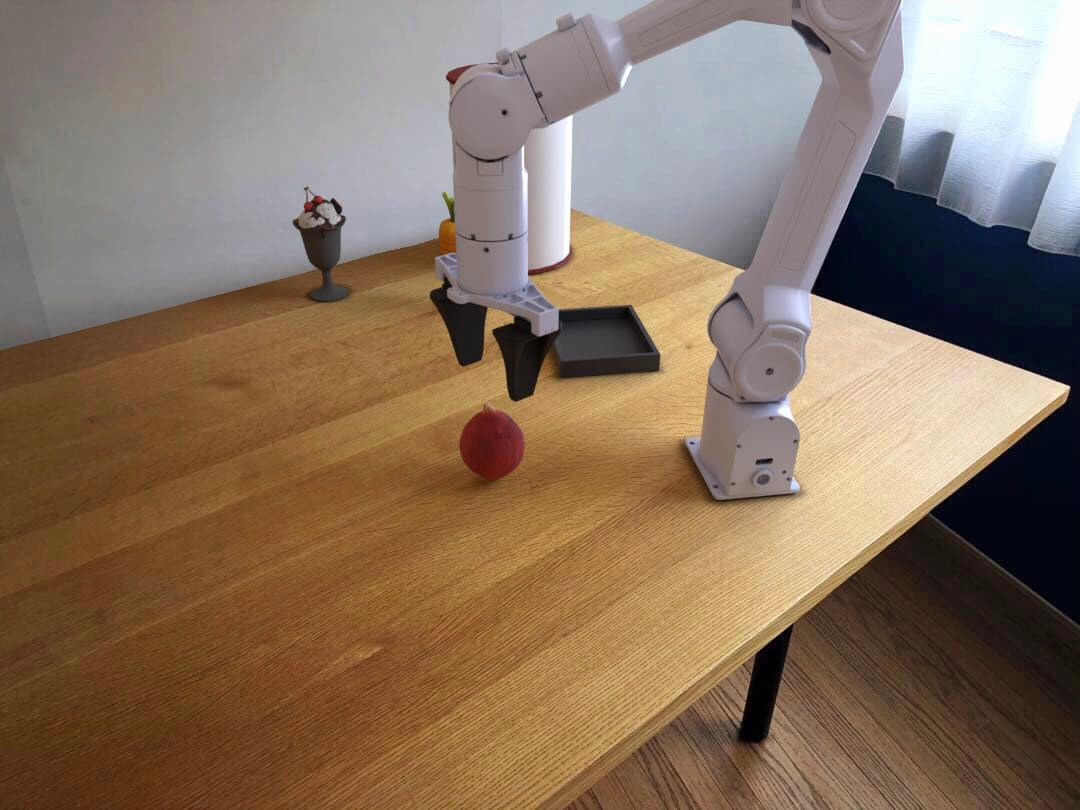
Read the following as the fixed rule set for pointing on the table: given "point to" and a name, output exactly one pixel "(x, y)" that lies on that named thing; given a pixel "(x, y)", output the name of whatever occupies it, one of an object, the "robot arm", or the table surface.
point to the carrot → (448, 229)
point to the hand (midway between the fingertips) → (495, 379)
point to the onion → (492, 443)
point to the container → (544, 190)
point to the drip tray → (603, 342)
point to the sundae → (322, 242)
